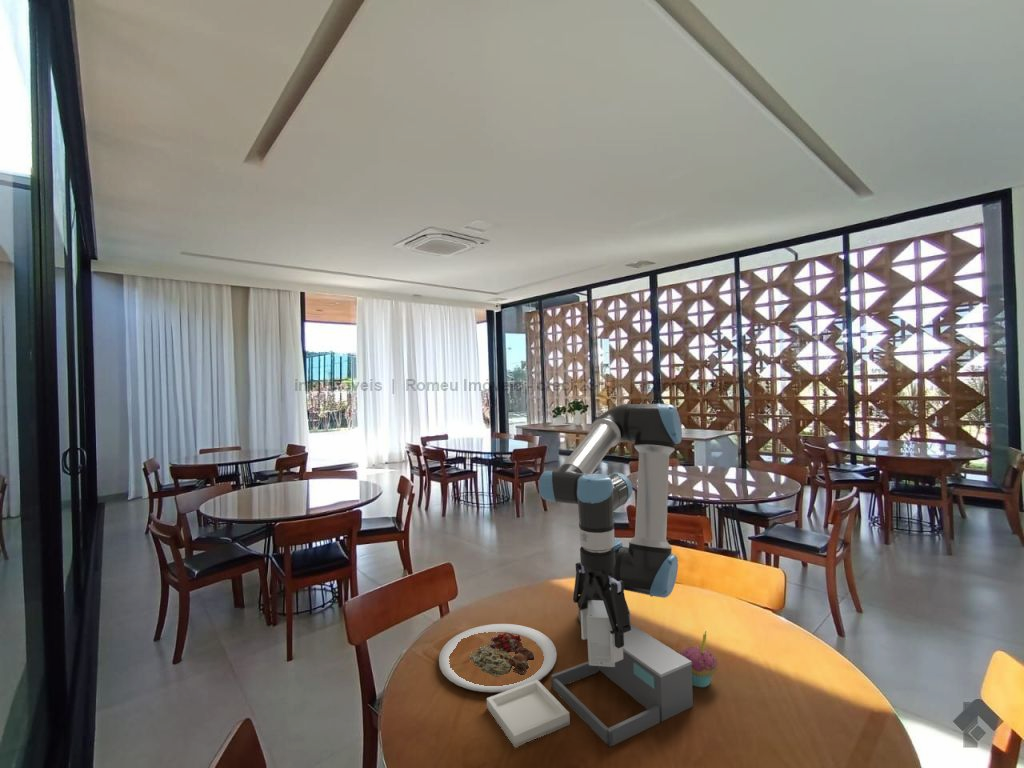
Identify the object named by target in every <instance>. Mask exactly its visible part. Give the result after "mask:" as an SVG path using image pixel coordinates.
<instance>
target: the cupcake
mask: <svg viewBox="0 0 1024 768" xmlns="http://www.w3.org/2000/svg"><path fill="white" fill-rule="evenodd" d="M706 640H707V630H705V632H704V633H703V634H702V641H701V647H696V646H695V647H693V646H690V647H686V648H683V649H682V651H680V652H678V653H679V654H680V655H682V656H684V657H685V658H687V659H688V660H690V661H692V686H694V687H696V688H697V687H698V688H706V687H708V686H709V685H710V683H711V680H712V676H714V675H715V674H716V672H717V671H718V659H717V658H716V657H715V655H713V654H712V653H711V652H709V651H708V650H707V649H705V648H706V642H707V641H706Z"/></svg>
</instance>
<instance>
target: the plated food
mask: <svg viewBox="0 0 1024 768" xmlns="http://www.w3.org/2000/svg"><path fill="white" fill-rule="evenodd" d="M484 632H486V633H488V632H496V633H497V632H505V633H504V634H502V635H501V634H498V635H497V636H496V637H494V636H492V637H491V641H492V643H491V644H490V646H489V645H486V646H487V647H485V646H484V647H480V648H477V649H478V651H476V653H475V654H472V652H471V653H470V654H471V655H470V657H469V658H470V659H471V658H472V659H473V662H474V665H475V666H479V667H481V668H482V669H481V671H483V673H486V672H487V673H489V674H491V675H492V676H494V677H499V676H500V675H504V674H508V673H509V672H510V670H511V668H512V666H514V667H515V668H514V669H513V670H514V671H513V672H515V673H518V674H520V675H525V674H526V672H527V671H526V670H527V669H528V668H529V667H530V666H529V665H528V663H527V661H528V660H534V653H533V652H532V651H530V650H528V649H527V648H525V647H523V646H522V645H523V644H522V643H521V642H520V641H521V639H520V635H521V636H524V637H526V638H529V639H531V640H532V641H534V642H536V644H537V645H538V646H539V647H540V648H541V650H542V652H543V656H544V661H543V664H542V666H541V668H540V669H539V670H538V671H537V672H536V673H535V674H534V675H532V676H531V677H529V678H527V679H525V680H523V681H520V682H517V683H514V684H509V685H503V686H484V685H479V684H474V683H472V682H469V681H466V680H465V679H463V678H461V677H459V676H458V675H457V674H456V673H455V672H454V670H452V668H450V664H449V663H450V662H449V660H450V659H449V656H450V654H451V653H452V652H453V650H454V649H455V648H456V646H457V644H458V642H460V641H461V639H463V638H467V637H469V636H471V635H474V634H478V633H484ZM510 633H513V634H518V636H514V635H513V634H510ZM493 637H494V638H493ZM509 652H515V654H516V655H514V656H511V655H509V654H508V653H509ZM438 656H439V657H438V665H439V666H438V667H439V669H440V671H441V673H442V675H444V677H445V678H446V679H447V680H448V681H449V682H452V683H453V684H455V685H456V686H458V687H462V688H464V689H467V690H469V691H474V692H481V693H502V692H505V691H508V690H510V689H513V688H516V687H518V686H521V685H524V684H526V683H529V682H532V681H534V680H538V681H539V682H540V681H541V680H543V678H545V677H546V676H548V675H549V673H550V672H551V671H552V670H553V669H554V667H555V665H556V662H557V657H558V655H557V649H556V646H555V644H554V643H553V641H552V640H551V639H550V638H549V637H548V636H547V635H545V634H544V633H542V632H541V631H539V630H537V629H534V628H532V627H529V626H524V625H519V624H513V623H491V624H483V625H480V626H476V627H473V628H469V629H468V630H464V631H462V632H460V633H458V634H457V635H455V636H453V637H452V638H450V640H448V641H447V642H446V643H445V645H444V646H443V647H442V648H441V651H440V653H439V655H438ZM470 662H471V660H470ZM523 671H524V672H523Z"/></svg>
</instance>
